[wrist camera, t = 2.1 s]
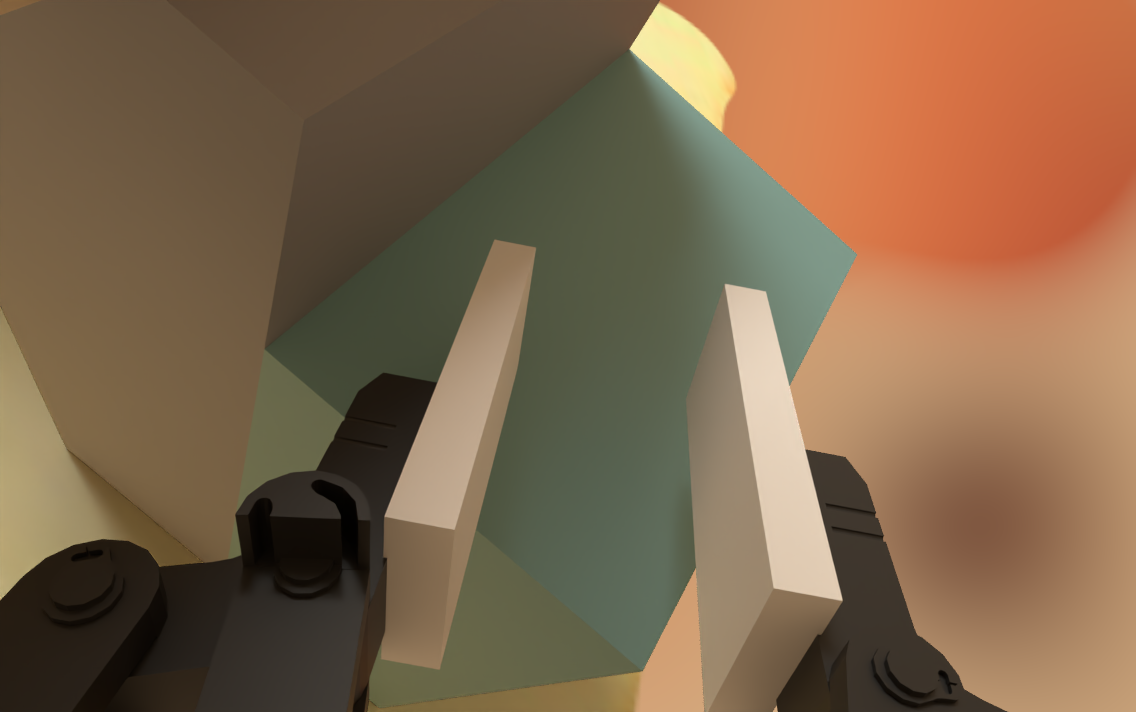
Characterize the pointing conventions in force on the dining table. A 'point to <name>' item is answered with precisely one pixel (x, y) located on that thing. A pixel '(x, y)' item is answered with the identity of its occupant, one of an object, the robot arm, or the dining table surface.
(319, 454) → the stand
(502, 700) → the dining table surface
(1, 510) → the dining table surface
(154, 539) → the dining table surface
